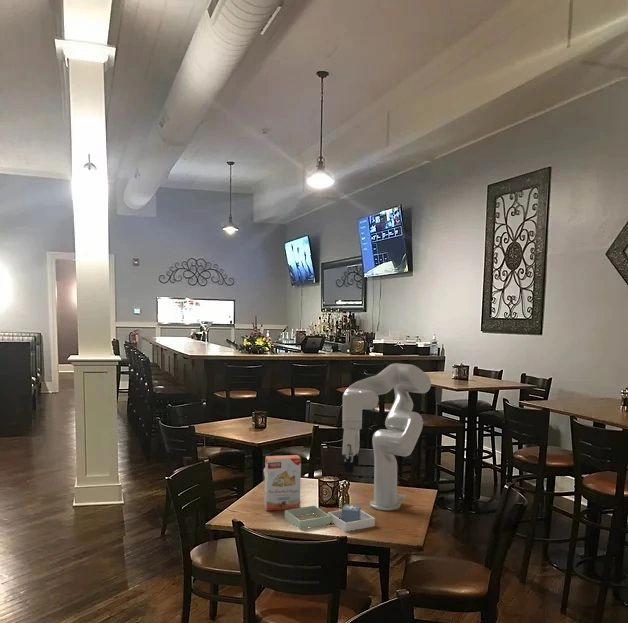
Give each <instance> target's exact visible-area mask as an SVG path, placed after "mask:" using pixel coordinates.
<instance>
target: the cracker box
mask: <svg viewBox="0 0 628 623" xmlns="http://www.w3.org/2000/svg"><path fill="white" fill-rule="evenodd" d="M264 460H265V463H264V464H265V467H264V468H265V489H264V492H263V493H264V494H263V495H264V497H263V498H264V499H263V500H264V502H263V505H264V506H263V507H264V509H265V511H267V512H268V511H269V512H271V511H281V510H283V511H285V510H290V509H296V508H301V507H300V505H301V480H302V479H301V478H302V476H301V475H302V458H301V457H300V456H299V455H298V454H292V455H290V454H289V455H266V456H265V459H264Z"/></svg>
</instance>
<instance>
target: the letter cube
mask: <svg viewBox="0 0 628 623" xmlns="http://www.w3.org/2000/svg"><path fill="white" fill-rule="evenodd" d="M341 510H342V518H340V519H341V520H342V521H344V522H346V523H347V522H353V521H358V520H361V519H360V510H361V505H356V504H355V505H354V504H348V503H347V504H346V503H345V504H344V505H343V506H342V508H341Z"/></svg>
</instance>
